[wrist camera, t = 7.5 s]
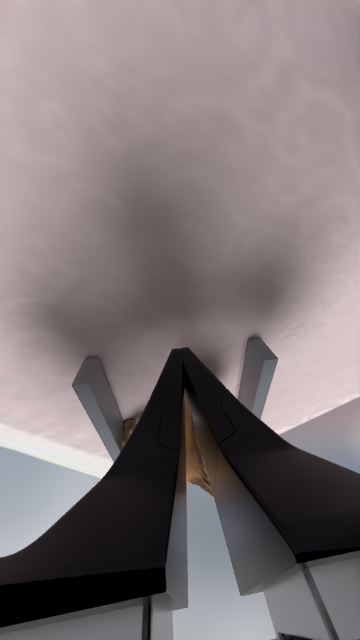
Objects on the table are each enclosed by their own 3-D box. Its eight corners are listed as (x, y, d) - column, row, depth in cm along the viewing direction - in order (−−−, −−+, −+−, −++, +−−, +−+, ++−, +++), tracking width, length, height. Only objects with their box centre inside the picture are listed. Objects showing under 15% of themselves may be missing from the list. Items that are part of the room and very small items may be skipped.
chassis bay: (260, 337, 15) (278, 358, 12) (240, 431, 22) (249, 455, 20) (85, 358, 14) (71, 385, 11) (125, 449, 21) (121, 476, 19)
